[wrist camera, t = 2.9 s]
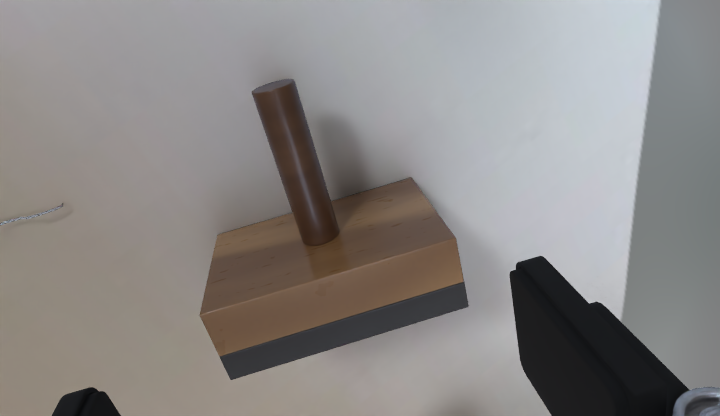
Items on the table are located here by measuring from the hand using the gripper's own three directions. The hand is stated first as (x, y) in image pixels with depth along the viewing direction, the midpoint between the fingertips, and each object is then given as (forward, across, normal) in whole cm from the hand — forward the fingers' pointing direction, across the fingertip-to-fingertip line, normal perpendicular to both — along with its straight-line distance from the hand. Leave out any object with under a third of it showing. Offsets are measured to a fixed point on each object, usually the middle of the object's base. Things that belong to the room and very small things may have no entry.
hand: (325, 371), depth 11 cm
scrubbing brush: (+18, 0, +2) cm, 18 cm away
